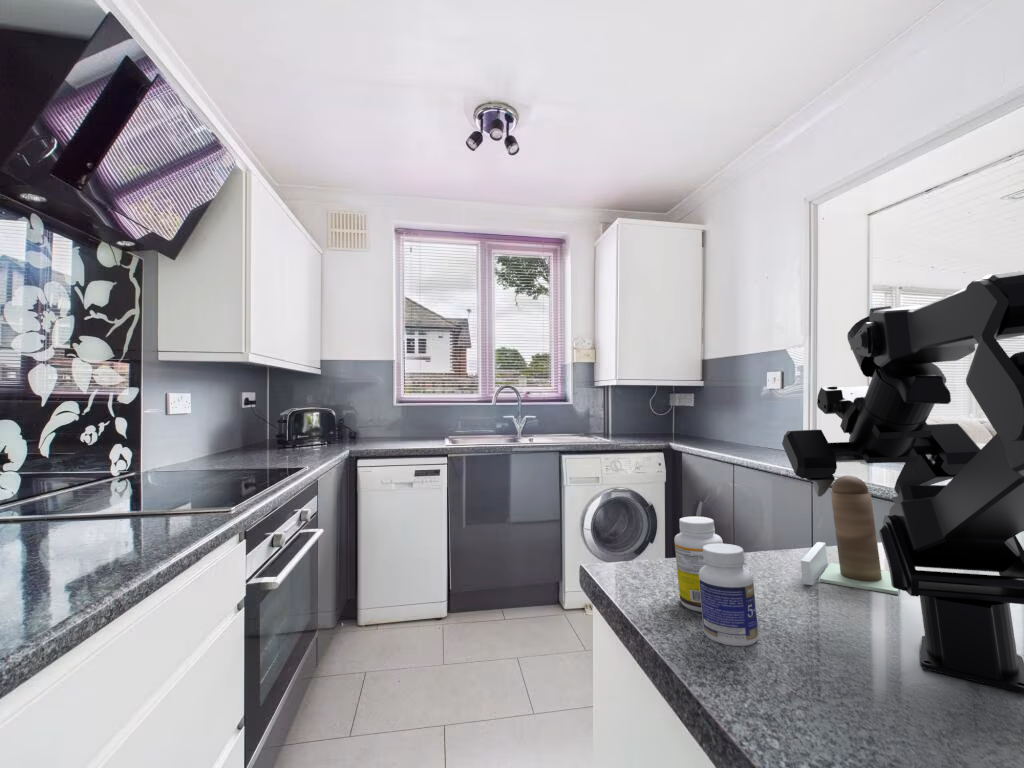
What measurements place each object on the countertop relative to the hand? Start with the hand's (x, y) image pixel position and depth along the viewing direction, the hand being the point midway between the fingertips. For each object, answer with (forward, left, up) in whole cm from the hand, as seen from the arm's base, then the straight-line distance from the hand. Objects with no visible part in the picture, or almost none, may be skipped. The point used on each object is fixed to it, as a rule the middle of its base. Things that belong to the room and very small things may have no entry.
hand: (857, 492), depth 60 cm
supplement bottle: (-18, +14, -12) cm, 26 cm away
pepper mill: (+2, +1, -11) cm, 11 cm away
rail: (+1, +6, -12) cm, 13 cm away
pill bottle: (-24, +9, -12) cm, 29 cm away
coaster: (+2, +1, -12) cm, 12 cm away
